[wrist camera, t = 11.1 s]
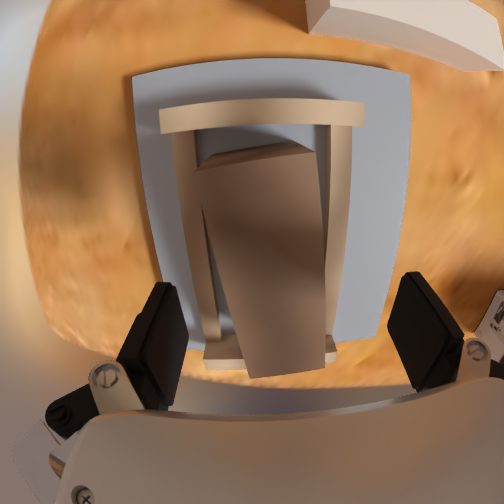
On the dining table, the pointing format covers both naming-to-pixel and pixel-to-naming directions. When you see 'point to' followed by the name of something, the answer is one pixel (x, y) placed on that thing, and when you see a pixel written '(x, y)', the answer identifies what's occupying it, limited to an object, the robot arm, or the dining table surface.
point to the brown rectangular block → (269, 252)
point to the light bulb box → (494, 328)
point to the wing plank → (415, 29)
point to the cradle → (195, 230)
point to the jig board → (309, 135)
